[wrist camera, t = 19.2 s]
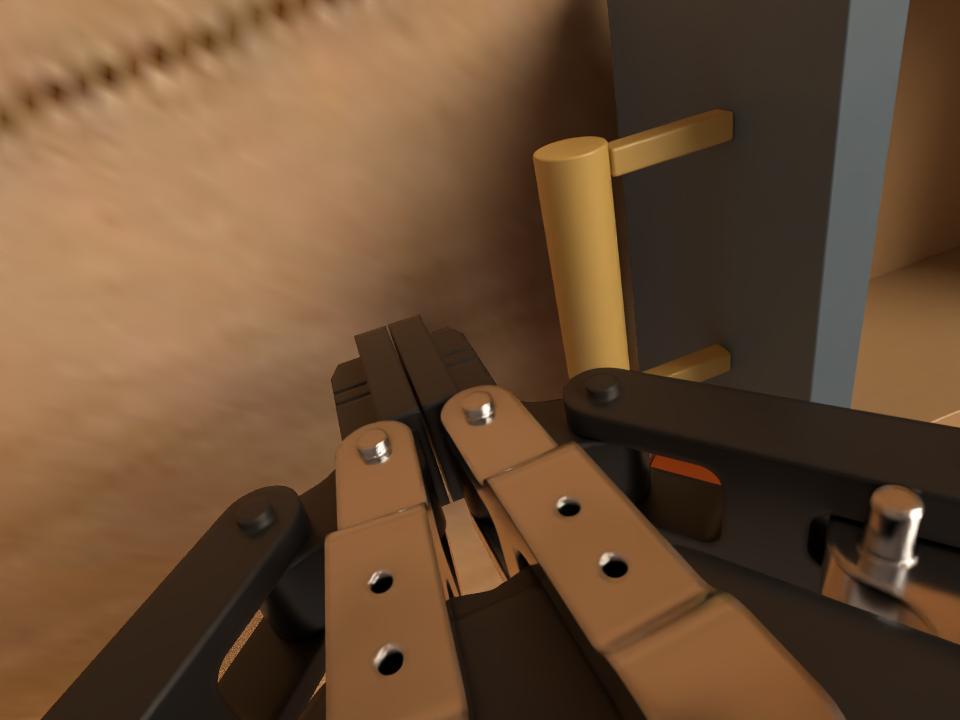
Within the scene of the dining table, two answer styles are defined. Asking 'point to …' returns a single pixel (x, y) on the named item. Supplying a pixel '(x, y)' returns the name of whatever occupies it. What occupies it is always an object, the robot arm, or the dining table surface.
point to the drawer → (772, 202)
